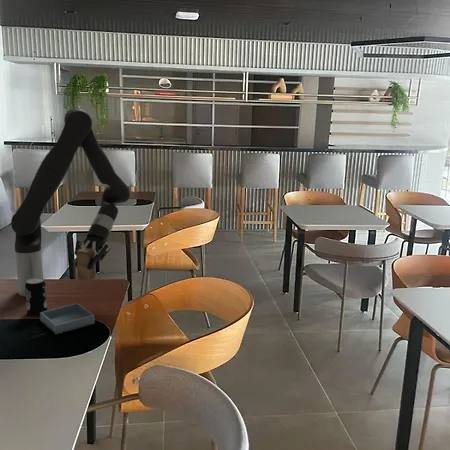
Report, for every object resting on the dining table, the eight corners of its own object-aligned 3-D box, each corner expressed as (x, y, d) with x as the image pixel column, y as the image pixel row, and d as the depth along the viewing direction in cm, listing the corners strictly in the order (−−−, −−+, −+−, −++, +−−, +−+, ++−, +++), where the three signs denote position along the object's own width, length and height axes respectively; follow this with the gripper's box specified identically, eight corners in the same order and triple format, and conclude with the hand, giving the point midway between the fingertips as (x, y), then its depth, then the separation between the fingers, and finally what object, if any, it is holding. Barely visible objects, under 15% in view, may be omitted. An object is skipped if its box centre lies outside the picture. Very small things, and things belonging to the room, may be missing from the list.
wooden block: (84, 275, 174) (83, 247, 172) (94, 277, 173) (94, 249, 170) (77, 279, 170) (76, 250, 168) (88, 281, 169) (87, 252, 166)
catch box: (40, 320, 157) (39, 312, 156) (77, 310, 165) (77, 302, 165) (56, 334, 147) (55, 325, 146) (94, 323, 156) (94, 315, 155)
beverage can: (42, 316, 160) (40, 283, 157) (23, 316, 160) (21, 283, 157) (50, 309, 166) (48, 277, 164) (32, 308, 166) (29, 276, 164)
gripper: (80, 221, 176) (61, 260, 168) (113, 225, 172) (95, 265, 163) (89, 231, 182) (70, 270, 174) (121, 236, 178) (104, 275, 169)
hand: (82, 267), depth 169 cm, fingers closed on wooden block, 4 cm apart
